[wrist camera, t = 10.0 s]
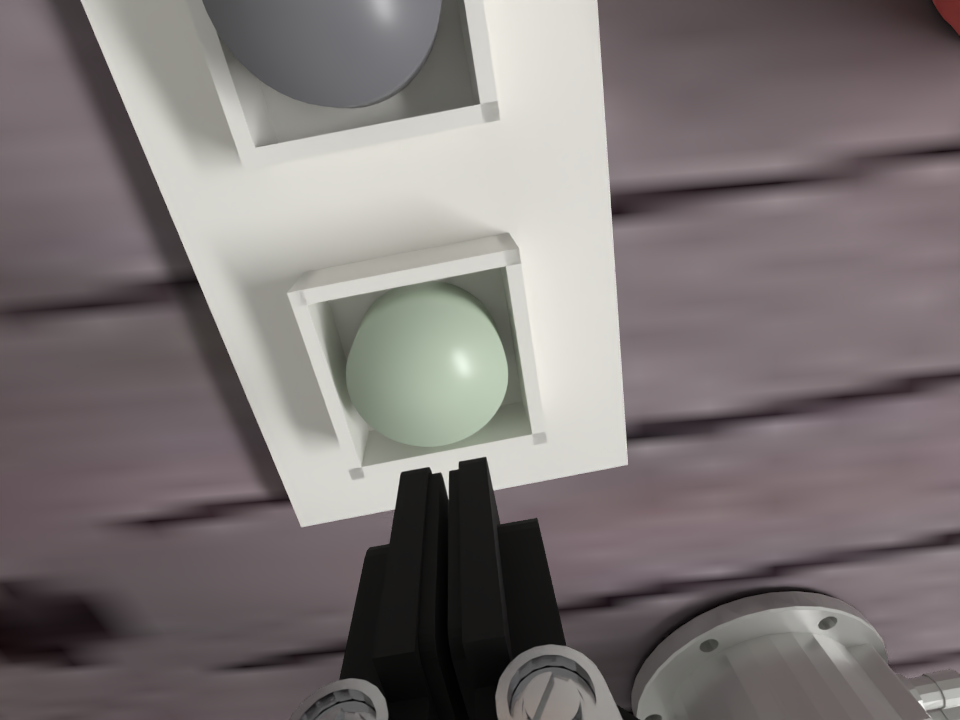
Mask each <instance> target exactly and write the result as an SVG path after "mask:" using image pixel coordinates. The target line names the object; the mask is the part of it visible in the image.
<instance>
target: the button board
mask: <svg viewBox="0 0 960 720" xmlns="http://www.w3.org/2000/svg"><path fill="white" fill-rule="evenodd" d="M81 2H82V5H83V7H84V9H85V12H86V14H87V17H88V19H89V21H90V24H91V26H92V29H93V31H94V33H95V36H96V38H97V40H98V43H99V45H100V48H101V50H102V52H103V55H104V57H105V60H106V62H107V64H108V67H109V69H110V71H111V74H112V76H113V79H114V81H115V83H116V86H117V88H118V91H119V93H120V95H121V98H122V100H123V103H124V105H125V107H126V110H127V112H128V114H129V117H130V119H131V122H132V124H133V126H134V129H135V131H136V134H137V136H138V138H139V141H140V143H141V145H142V148H143V150H144V153H145V155H146V157H147V160H148V162H149V165H150V167H151V169H152V172H153V174H154V177H155V179H156V181H157V184H158V186H159V188H160V191H161V193H162V196H163V198H164V200H165V203H166V205H167V208H168V210H169V212H170V215H171V217H172V219H173V222H174V224H175V227H176V229H177V231H178V234H179V236H180V239H181V241H182V243H183V246H184V248H185V250H186V253H187V255H188V258H189V260H190V262H191V265H192V267H193V270H194V272H195V274H196V277H197V279H198V282H199V284H200V286H201V289H202V291H203V293H204V296H205V298H206V301H207V303H208V305H209V308H210V310H211V313H212V315H213V317H214V320H215V322H216V324H217V327H218V329H219V332H220V334H221V336H222V339H223V341H224V344H225V346H226V348H227V351H228V353H229V356H230V358H231V360H232V363H233V365H234V367H235V370H236V372H237V375H238V377H239V379H240V382H241V384H242V387H243V389H244V391H245V394H246V396H247V398H248V401H249V403H250V406H251V408H252V410H253V413H254V415H255V418H256V420H257V422H258V425H259V427H260V430H261V432H262V434H263V437H264V439H265V441H266V444H267V446H268V449H269V451H270V453H271V456H272V458H273V461H274V463H275V465H276V468H277V470H278V472H279V475H280V477H281V480H282V482H283V484H284V487H285V489H286V492H287V494H288V496H289V499H290V501H291V504H292V506H293V508H294V511H295V513H296V515H297V518H298V520H299V523H300V525H301V527H305V526H310V525H315V524H321V523H326V522H331V521H336V520H342V519H347V518H352V517H357V516H362V515H368V514H373V513H378V512H383V511H389V510H394V509H395V506H396V499H397V493H398V486H399V480H400V474H401V472H403V471H409V470H414V469H420V468H425V467H430V469H431V471H432V474H434V473H440V472H441V473H442V476H443V479H444V483H445V487H446V491H447V495H448V499H449V471H451V470H457V469H459V461H465V460H470V459H476V458H481V457H486V458H487V462H488V467H489V472H490V476H491V481H492V486H493V490H498V489H503V488H509V487H514V486H519V485H524V484H530V483H535V482H540V481H545V480H550V479H556V478H561V477H566V476H571V475H577V474H582V473H587V472H592V471H597V470H603V469H608V468H613V467H618V466H624V465H628V457H627V442H626V427H625V412H624V397H623V382H622V367H621V352H620V337H619V322H618V306H617V291H616V276H615V261H614V246H613V231H612V216H611V201H610V186H609V171H608V155H607V140H606V125H605V110H604V95H603V80H602V65H601V50H600V35H599V20H598V4H597V0H442V3H441V15H440V23H439V28H438V32H437V37H436V40H435V42H434V45H433V48H432V51H431V53H430V55H429V57H428V59H427V61H426V63H425V64H424V66H423V67H422V69H421V70H420V72H419V73H418V75H417V76H416V77H415V78H414V79H413V80H412V81H411V83H410V84H409V85H407V86H406V87H405V88H404V89H403V90H402V91H400V92H399V93H398V94H396V95H394V96H393V97H391V98H390V99H388V100H385V101H383V102H381V103H378V104H375V105H372V106H368V107H363V108H354V109H349V108H334V107H326V106H319V105H313V104H308V103H305V102H302V101H298V100H295V99H292V98H290V97H288V96H286V95H284V94H281V93H279V92H278V91H276V90H274V89H273V88H271V87H269V86H268V85H266V84H265V83H263V82H262V81H261V80H259V79H258V78H257V77H256V76H254V75H253V74H252V73H251V72H250V71H249V70H248V69H247V68H246V67H245V66H243V65H242V64H241V63H240V62H239V61H238V59H237V58H236V57H235V56H234V55H233V53H232V52H231V51H230V50H229V48H228V47H227V46H226V45H225V43H224V42H223V40H222V38H221V37H220V35H219V34H218V32H217V31H216V29H215V27H214V25H213V23H212V21H211V20H210V18H209V16H208V14H207V12H206V9H205V7H204V4H203V1H202V0H81ZM432 280H433V281H441V282H445V283H449V284H453V285H455V286H458V287H460V288H462V289H464V290H466V291H468V292H469V293H471V294H472V295H473V296H475V297H476V298H477V299H478V300H479V301H480V302H481V303H482V304H483V305H484V306H485V307H486V308H487V310H488V311H489V312H490V314H491V316H492V317H493V319H494V321H495V324H496V326H497V329H498V333H499V336H500V339H501V343H502V346H503V350H504V353H505V357H506V361H507V366H508V384H507V389H506V393H505V396H504V399H503V401H502V403H501V405H500V407H499V409H498V410H497V412H496V413H495V415H494V416H493V417H492V419H491V420H490V421H489V422H488V423H487V424H486V425H485V426H484V427H482V428H481V429H480V430H479V431H477V432H476V433H474V434H473V435H471V436H469V437H467V438H465V439H463V440H460V441H458V442H455V443H452V444H448V445H443V446H436V447H420V446H412V445H407V444H403V443H400V442H396V441H394V440H392V439H389V438H387V437H385V436H384V435H382V434H380V433H379V432H377V431H376V430H375V429H373V428H372V427H371V426H370V425H369V424H368V423H367V422H366V421H365V420H364V419H363V418H362V417H361V416H360V414H359V413H358V412H357V410H356V408H355V407H354V405H353V403H352V401H351V398H350V396H349V393H348V388H347V383H346V365H347V360H348V356H349V353H350V350H351V348H352V345H353V342H354V339H355V337H356V334H357V331H358V329H359V326H360V323H361V321H362V319H363V317H364V315H365V313H366V312H367V310H368V309H369V308H370V306H371V305H372V304H373V303H374V302H375V301H376V300H377V299H378V298H379V297H381V296H382V295H383V294H385V293H386V292H388V291H389V290H391V289H393V288H396V287H401V286H406V285H411V284H417V283H422V282H427V281H432Z"/></svg>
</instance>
